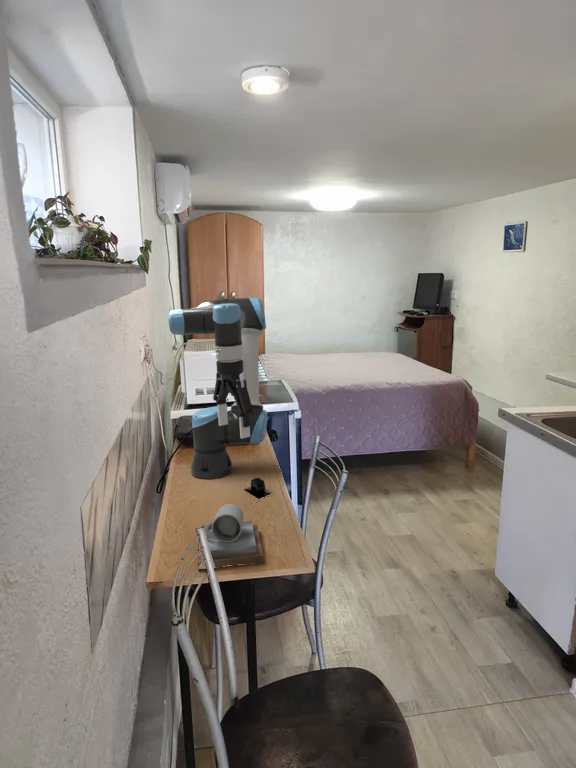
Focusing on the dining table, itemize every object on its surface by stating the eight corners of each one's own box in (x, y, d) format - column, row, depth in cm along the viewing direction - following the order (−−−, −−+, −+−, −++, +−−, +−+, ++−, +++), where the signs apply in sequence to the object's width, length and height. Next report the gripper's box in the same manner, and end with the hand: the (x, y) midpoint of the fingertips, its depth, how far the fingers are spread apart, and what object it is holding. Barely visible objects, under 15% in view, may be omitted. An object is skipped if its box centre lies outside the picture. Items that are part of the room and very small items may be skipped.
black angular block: (277, 496, 159) (277, 483, 158) (258, 503, 155) (257, 489, 154) (257, 484, 169) (256, 472, 168) (238, 490, 165) (238, 477, 164)
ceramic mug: (244, 526, 132) (243, 499, 131) (242, 542, 124) (240, 514, 123) (205, 527, 132) (203, 501, 131) (200, 543, 124) (198, 515, 123)
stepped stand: (199, 536, 135) (198, 523, 135) (257, 530, 138) (256, 517, 137) (198, 570, 120) (196, 555, 119) (263, 562, 122) (262, 548, 121)
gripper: (198, 354, 147) (204, 422, 152) (239, 368, 126) (243, 446, 132) (221, 351, 151) (225, 417, 156) (264, 364, 130) (267, 439, 136)
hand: (233, 430), depth 144 cm, fingers open, 13 cm apart
